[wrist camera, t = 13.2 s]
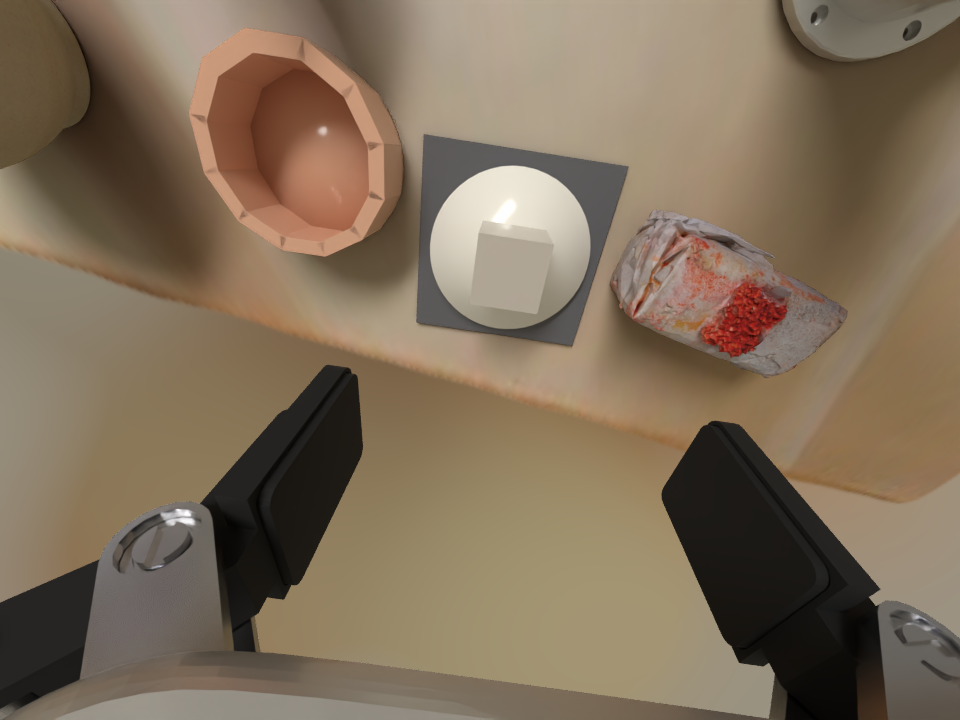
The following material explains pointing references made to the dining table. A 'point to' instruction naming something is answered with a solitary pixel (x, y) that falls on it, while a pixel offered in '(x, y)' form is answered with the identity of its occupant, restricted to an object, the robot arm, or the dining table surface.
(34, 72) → the planter bowl
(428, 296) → the mat
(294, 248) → the bowl
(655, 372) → the dining table surface
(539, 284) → the lid
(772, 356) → the food item
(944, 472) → the dining table surface
